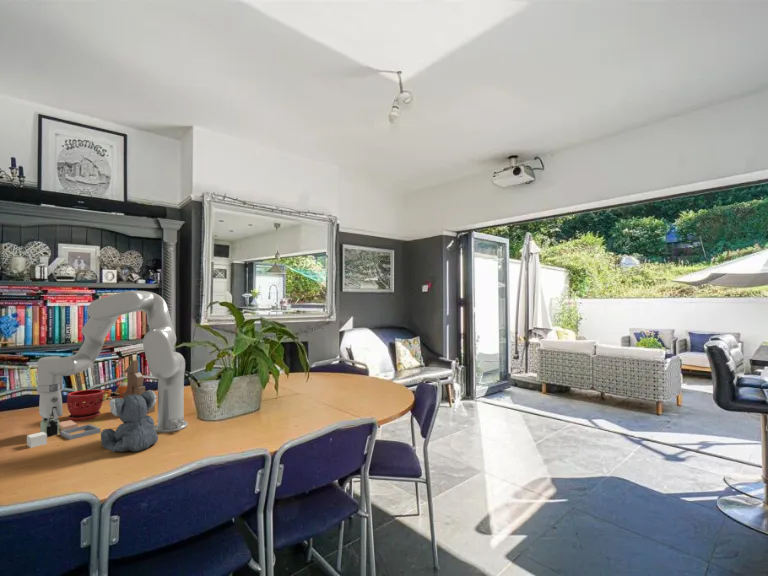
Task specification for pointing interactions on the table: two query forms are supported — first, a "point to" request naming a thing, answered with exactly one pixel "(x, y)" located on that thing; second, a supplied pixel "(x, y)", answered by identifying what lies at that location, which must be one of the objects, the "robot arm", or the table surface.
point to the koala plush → (131, 424)
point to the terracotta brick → (67, 425)
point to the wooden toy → (135, 382)
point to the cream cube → (36, 439)
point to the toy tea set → (120, 391)
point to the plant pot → (84, 404)
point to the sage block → (44, 426)
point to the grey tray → (88, 430)
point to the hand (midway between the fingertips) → (49, 434)
